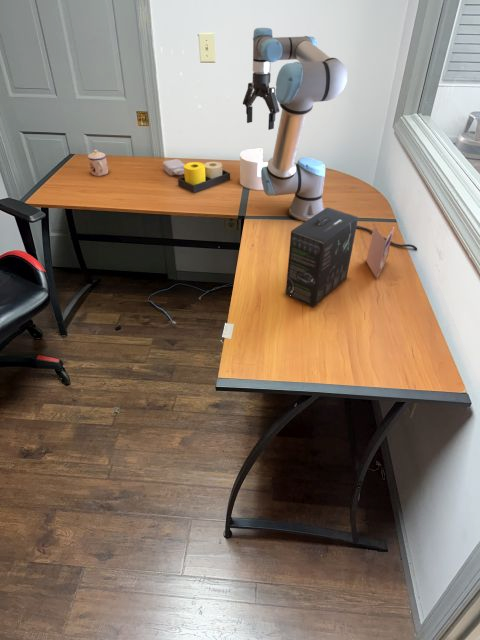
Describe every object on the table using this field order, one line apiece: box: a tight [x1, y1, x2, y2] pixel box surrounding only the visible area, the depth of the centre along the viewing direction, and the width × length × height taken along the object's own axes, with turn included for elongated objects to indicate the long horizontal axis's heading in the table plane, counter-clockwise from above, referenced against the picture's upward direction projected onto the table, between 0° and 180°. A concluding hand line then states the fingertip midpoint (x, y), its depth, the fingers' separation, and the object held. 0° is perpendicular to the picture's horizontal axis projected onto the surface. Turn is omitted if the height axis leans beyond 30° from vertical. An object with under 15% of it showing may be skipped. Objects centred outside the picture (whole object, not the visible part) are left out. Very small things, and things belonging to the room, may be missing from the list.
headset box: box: [285, 207, 359, 308], centre depth 142 cm, size 22×12×26 cm, turn 141°
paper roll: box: [203, 161, 223, 179], centre depth 218 cm, size 9×9×7 cm
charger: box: [162, 158, 186, 177], centre depth 225 cm, size 5×9×15 cm
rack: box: [177, 169, 231, 194], centre depth 217 cm, size 12×24×4 cm, turn 133°
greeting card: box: [365, 224, 395, 279], centre depth 154 cm, size 11×7×15 cm, turn 151°
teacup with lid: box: [87, 149, 109, 177], centre depth 223 cm, size 12×9×12 cm
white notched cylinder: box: [239, 147, 268, 191], centre depth 215 cm, size 20×20×13 cm
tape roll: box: [184, 161, 206, 185], centre depth 211 cm, size 10×10×9 cm
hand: (260, 125), depth 196 cm, fingers open, 13 cm apart
